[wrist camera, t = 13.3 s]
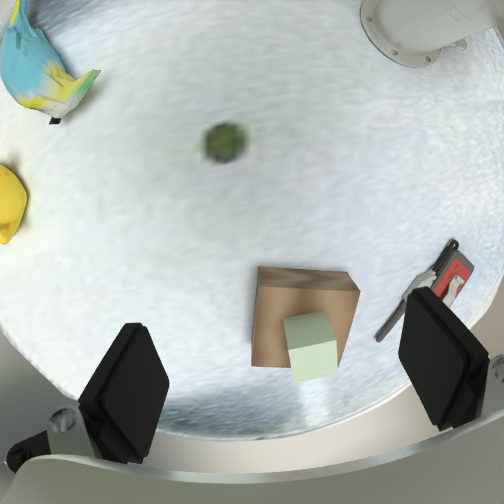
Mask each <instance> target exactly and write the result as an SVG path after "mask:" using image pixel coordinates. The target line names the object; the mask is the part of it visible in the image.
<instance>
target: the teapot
mask: <svg viewBox="0 0 504 504" xmlns="http://www.w3.org/2000/svg"><path fill="white" fill-rule="evenodd" d="M26 202H27V194H26V191H25V189H24V187H23V186H22V184H21V182H20V181H19V179H18V178H17V177H16V176H15V174H14V173H13V172H11V171H10V170H9V169H7V168H6V167H4V166H2V165H0V243H1V244H4V245H5V244H7V243H8V242H9V241H10V240H11V238H12V237H13V235H14V234H15V232H16V231H17V229H18V227H19V224H20V222H21V219H22V216H23V213H24V210H25V206H26Z"/></svg>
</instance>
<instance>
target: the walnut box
mask: <svg viewBox="0 0 504 504" xmlns="http://www.w3.org/2000/svg"><path fill="white" fill-rule="evenodd" d="M359 295H360V290H359V289H358V287H357V286H356V284H355V283H354V282H353V280H352V279H351V277H350V276H349V275H348V273H347V272H334V271H318V270H303V269H288V268H274V267H259V268H258V279H257V290H256V300H255V311H254V321H253V331H252V356H251V366H256V367H281V368H291V363H290V357H289V352H288V346H287V340H286V334H285V328H284V322H283V318H288V317H293V316H298V315H303V314H308V313H313V312H318V311H322V310H324V311H325V313H326V316H327V318H328V321H329V323H330V325H331V328H332V330H333V333H334V335H335V338H336V342H337V363H338V366H339V363H340V360H341V357H342V354H343V351H344V348H345V345H346V342H347V338H348V335H349V332H350V328H351V325H352V321H353V318H354V314H355V310H356V307H357V303H358V299H359Z"/></svg>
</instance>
